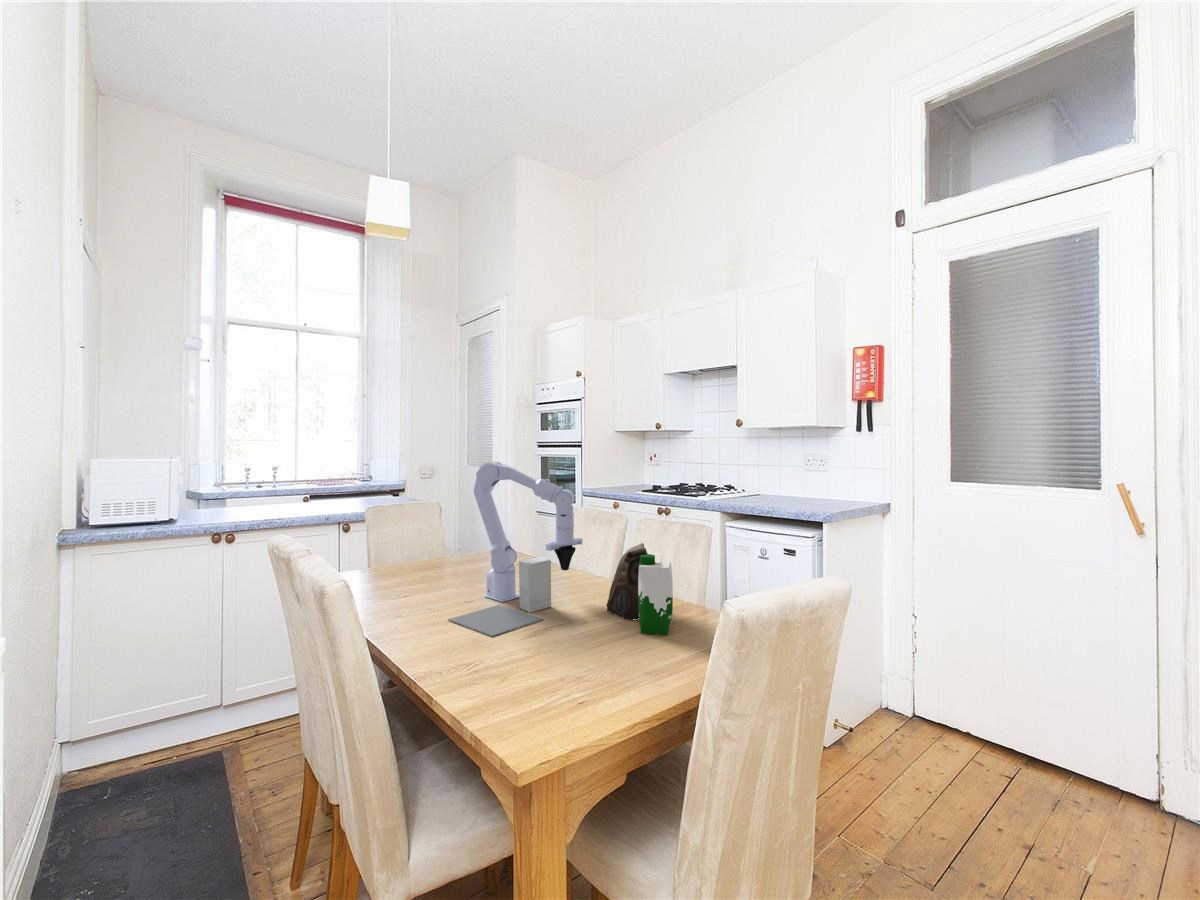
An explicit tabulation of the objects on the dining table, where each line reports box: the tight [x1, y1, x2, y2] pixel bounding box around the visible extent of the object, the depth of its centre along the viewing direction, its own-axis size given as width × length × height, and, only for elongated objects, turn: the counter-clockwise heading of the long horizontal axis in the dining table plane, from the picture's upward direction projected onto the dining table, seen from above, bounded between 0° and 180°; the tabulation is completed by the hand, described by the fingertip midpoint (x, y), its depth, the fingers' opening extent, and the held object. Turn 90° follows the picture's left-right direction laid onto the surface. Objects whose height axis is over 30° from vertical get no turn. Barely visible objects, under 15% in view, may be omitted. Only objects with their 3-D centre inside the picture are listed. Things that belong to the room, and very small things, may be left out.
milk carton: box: [638, 553, 674, 636], centre depth 148 cm, size 9×9×20 cm
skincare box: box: [518, 556, 552, 613], centre depth 168 cm, size 8×6×15 cm
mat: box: [447, 604, 544, 638], centre depth 156 cm, size 20×18×1 cm
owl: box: [606, 542, 649, 621], centre depth 161 cm, size 13×13×20 cm
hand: (564, 569), depth 177 cm, fingers closed
